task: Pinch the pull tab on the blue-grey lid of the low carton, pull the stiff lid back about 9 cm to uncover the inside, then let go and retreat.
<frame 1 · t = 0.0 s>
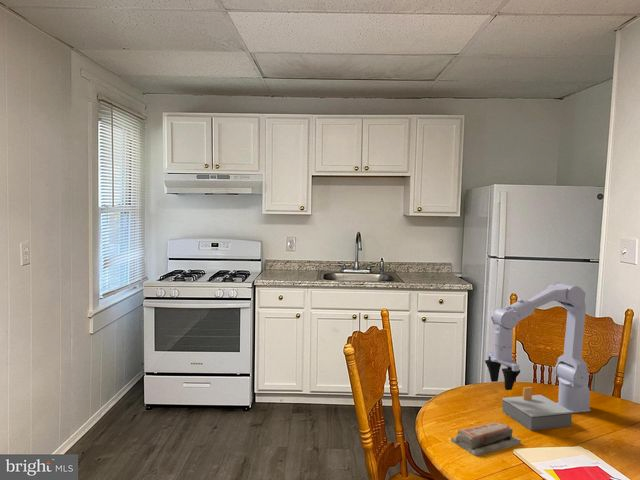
hand: (501, 385, 157), 10 cm above the table, tool pointing down, fingers open, 7 cm apart
carton: (535, 418, 156), on the table
packaged product: (485, 444, 139), on the table
carton lid: (536, 399, 155), point 7 cm above the table, slide at 0.0 cm
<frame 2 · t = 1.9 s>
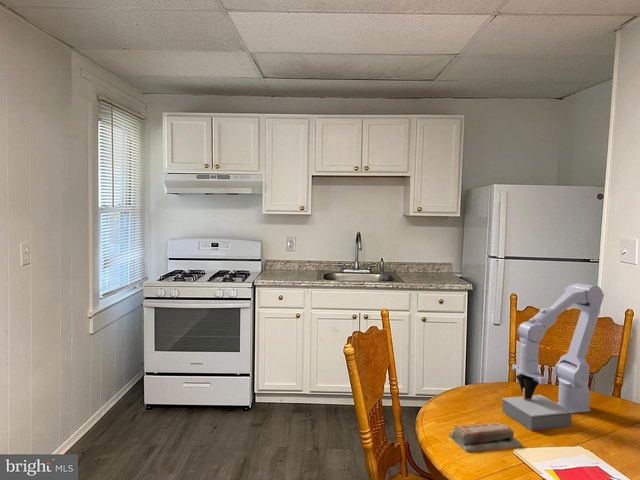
hand: (527, 397, 160), 5 cm above the table, tool pointing down, fingers closed, pressing on carton lid
carton lid: (536, 399, 155), point 7 cm above the table, slide at 0.0 cm, touching gripper
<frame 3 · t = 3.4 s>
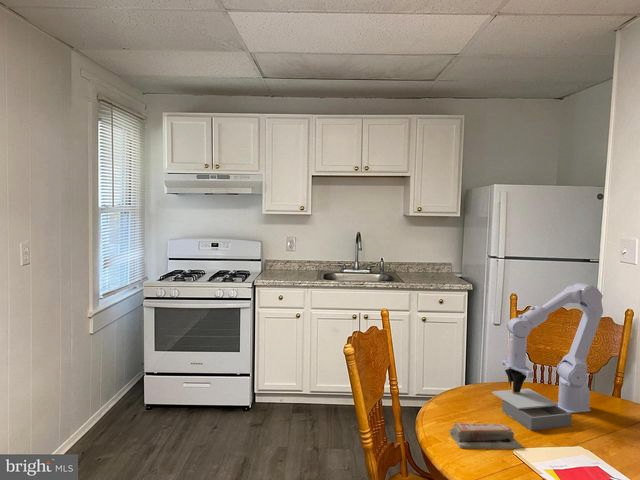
hand: (515, 391, 165), 5 cm above the table, tool pointing down, fingers closed, pressing on carton lid
carton lid: (524, 392, 161), point 7 cm above the table, slide at 6.0 cm, touching gripper
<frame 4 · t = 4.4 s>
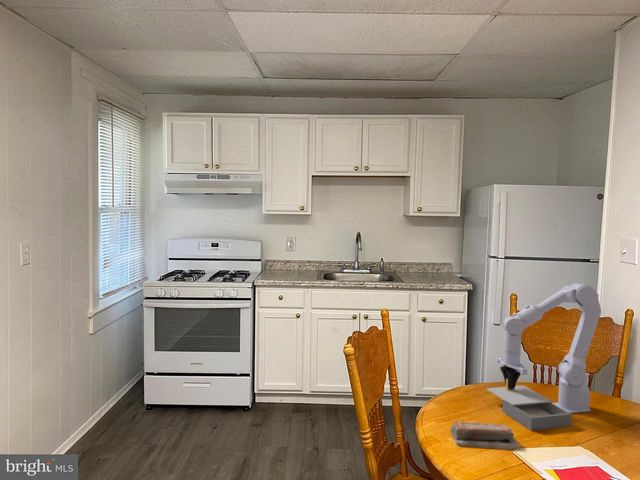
hand: (510, 387, 168), 5 cm above the table, tool pointing down, fingers closed, pressing on carton lid
carton lid: (518, 389, 164), point 7 cm above the table, slide at 9.0 cm, touching gripper
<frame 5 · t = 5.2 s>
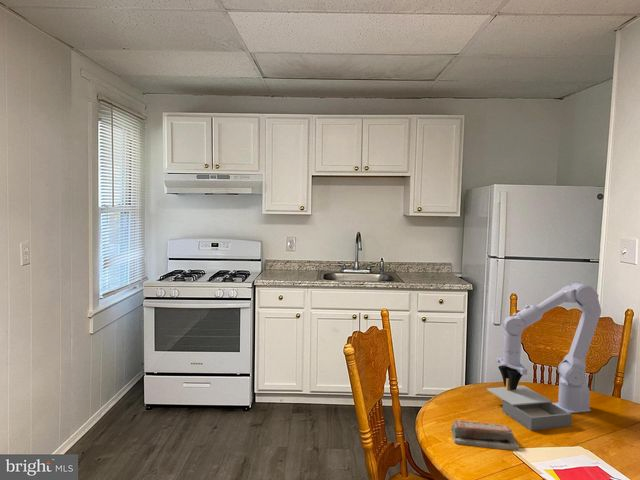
hand: (510, 387, 168), 5 cm above the table, tool pointing down, fingers open, 3 cm apart
carton lid: (518, 389, 164), point 7 cm above the table, slide at 9.0 cm
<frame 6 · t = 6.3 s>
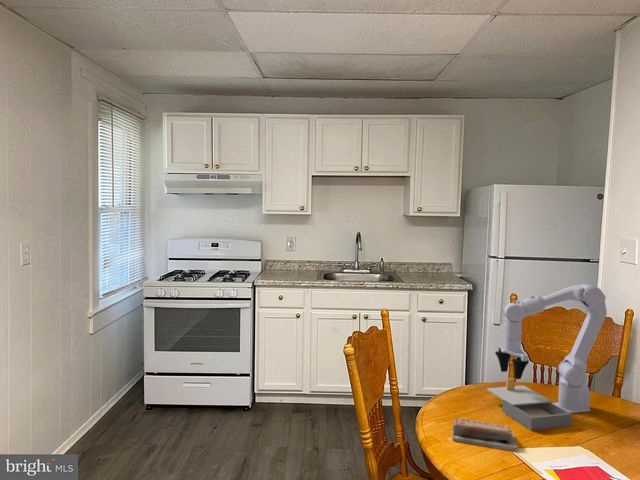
hand: (510, 374, 168), 10 cm above the table, tool pointing down, fingers open, 7 cm apart
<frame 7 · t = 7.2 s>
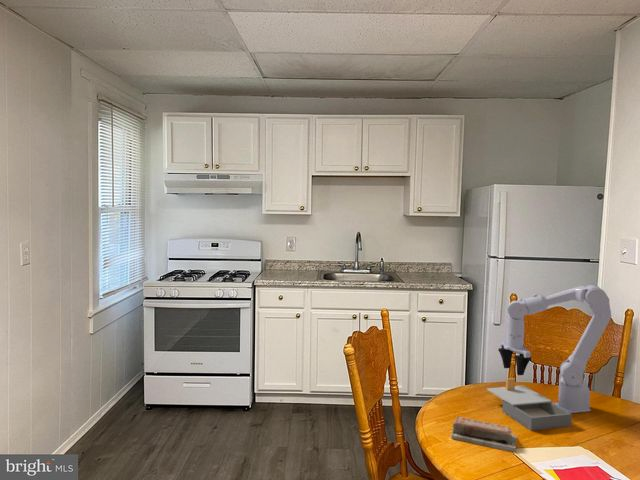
hand: (513, 371, 171), 10 cm above the table, tool pointing down, fingers open, 7 cm apart
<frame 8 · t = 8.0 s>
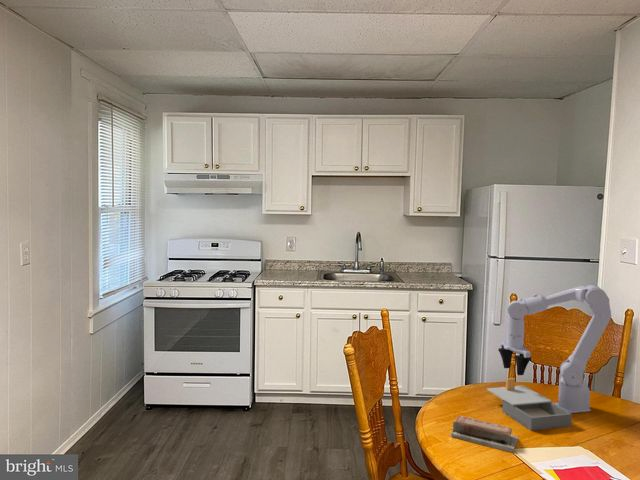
hand: (513, 371, 171), 10 cm above the table, tool pointing down, fingers open, 7 cm apart
at the end: carton lid slide at 9.0 cm; the gripper is holding nothing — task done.
